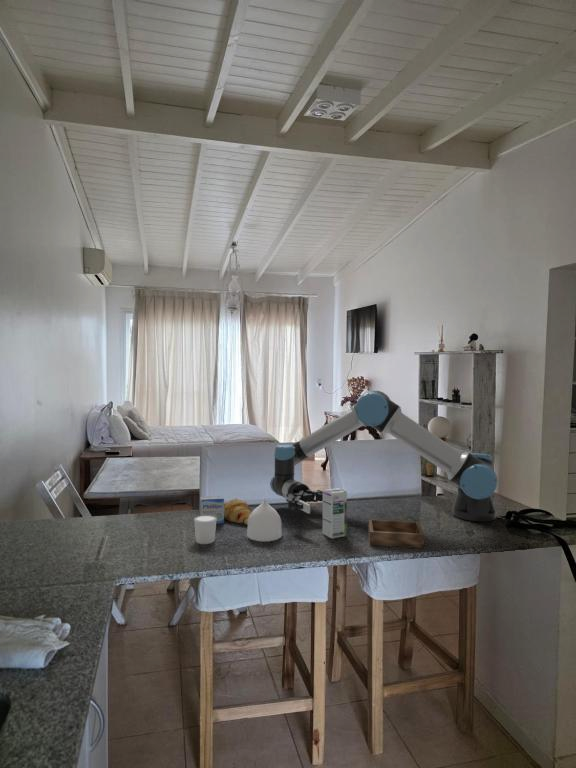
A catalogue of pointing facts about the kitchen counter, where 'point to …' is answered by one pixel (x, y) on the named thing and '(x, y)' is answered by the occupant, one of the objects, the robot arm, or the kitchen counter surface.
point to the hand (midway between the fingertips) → (327, 506)
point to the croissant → (237, 511)
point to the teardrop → (264, 523)
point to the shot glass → (205, 529)
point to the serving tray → (395, 533)
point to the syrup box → (335, 513)
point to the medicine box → (213, 507)
